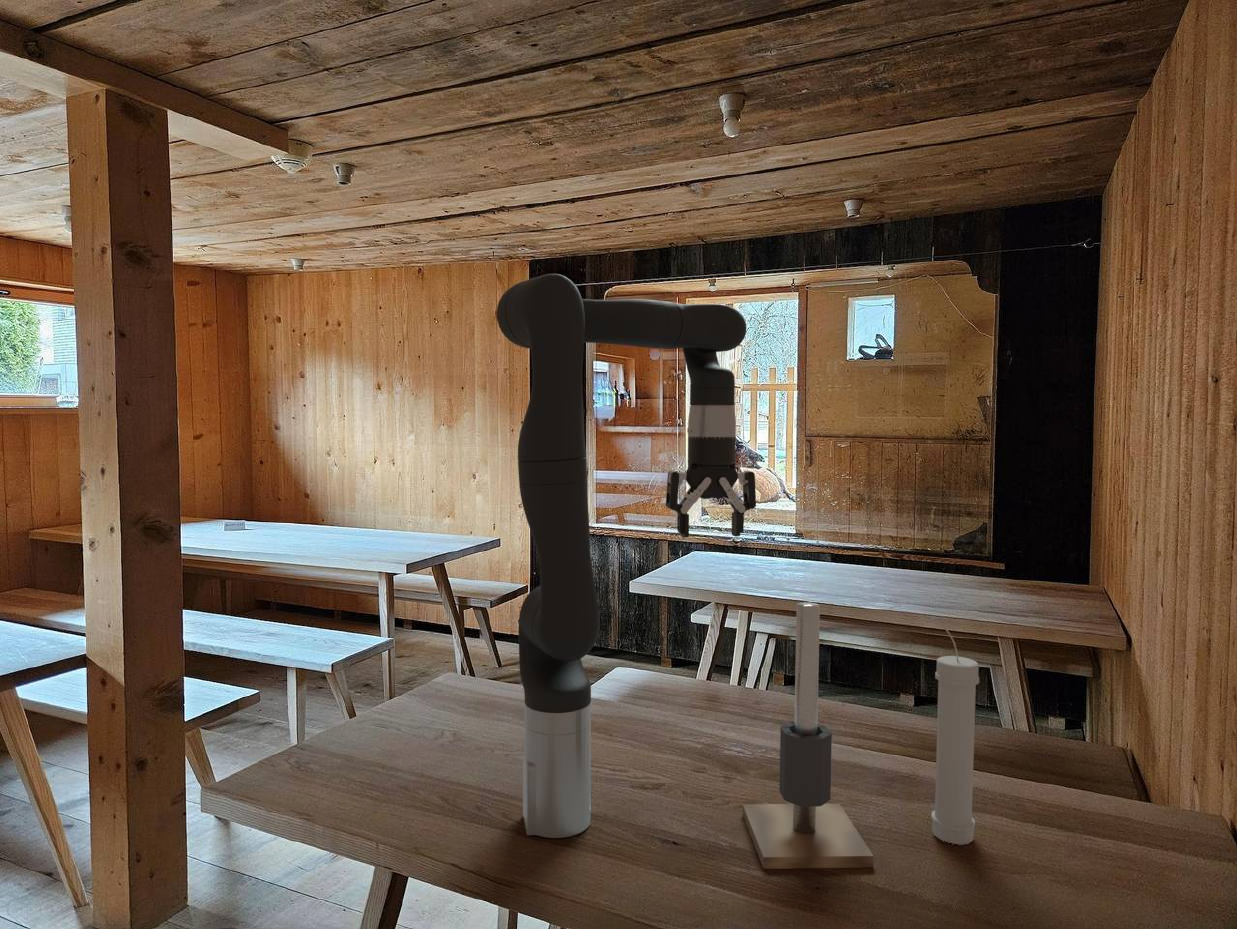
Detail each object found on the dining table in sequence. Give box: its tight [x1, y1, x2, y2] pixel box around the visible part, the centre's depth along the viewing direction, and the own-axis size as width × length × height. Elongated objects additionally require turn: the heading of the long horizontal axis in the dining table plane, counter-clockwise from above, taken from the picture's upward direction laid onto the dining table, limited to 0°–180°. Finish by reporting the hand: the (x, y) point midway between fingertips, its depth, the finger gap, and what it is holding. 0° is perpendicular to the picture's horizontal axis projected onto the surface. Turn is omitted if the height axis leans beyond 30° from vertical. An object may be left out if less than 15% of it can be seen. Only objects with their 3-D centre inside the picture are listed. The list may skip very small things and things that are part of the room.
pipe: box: [930, 617, 980, 846], centre depth 108 cm, size 6×6×30 cm
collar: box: [779, 720, 833, 807], centre depth 107 cm, size 6×6×9 cm
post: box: [742, 602, 874, 870], centre depth 107 cm, size 14×14×32 cm
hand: (710, 536), depth 127 cm, fingers open, 8 cm apart
